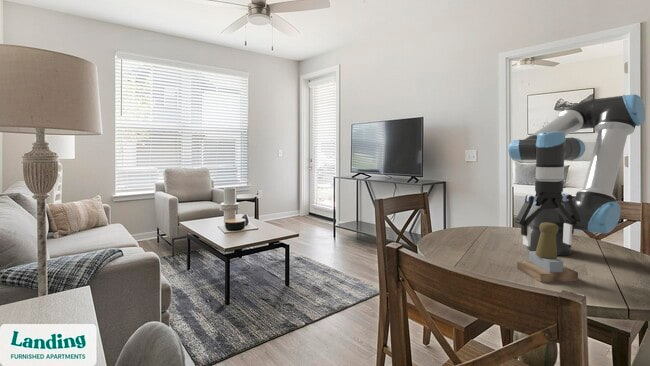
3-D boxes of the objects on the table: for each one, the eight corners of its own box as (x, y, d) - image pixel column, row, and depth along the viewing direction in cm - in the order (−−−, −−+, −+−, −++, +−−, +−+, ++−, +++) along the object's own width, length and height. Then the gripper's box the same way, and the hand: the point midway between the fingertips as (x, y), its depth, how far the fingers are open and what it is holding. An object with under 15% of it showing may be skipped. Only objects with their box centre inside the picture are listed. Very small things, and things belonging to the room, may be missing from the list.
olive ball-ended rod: (550, 259, 105) (553, 225, 104) (531, 254, 110) (534, 221, 109) (561, 257, 107) (564, 224, 106) (542, 252, 113) (545, 220, 112)
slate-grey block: (540, 260, 114) (540, 251, 114) (562, 272, 104) (563, 261, 103) (528, 261, 115) (529, 251, 114) (549, 272, 104) (550, 261, 103)
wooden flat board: (550, 269, 115) (550, 259, 115) (577, 283, 103) (578, 272, 103) (516, 271, 115) (517, 261, 115) (540, 284, 103) (540, 273, 103)
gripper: (577, 177, 110) (575, 239, 112) (504, 180, 110) (503, 242, 112) (596, 179, 103) (593, 246, 105) (518, 182, 102) (516, 249, 104)
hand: (546, 244), depth 108 cm, fingers open, 13 cm apart
